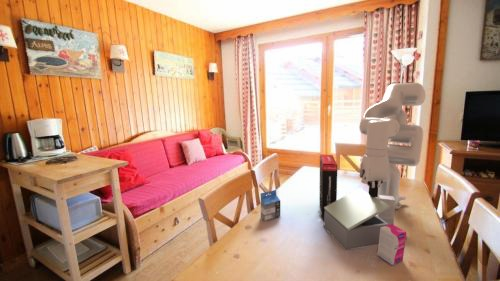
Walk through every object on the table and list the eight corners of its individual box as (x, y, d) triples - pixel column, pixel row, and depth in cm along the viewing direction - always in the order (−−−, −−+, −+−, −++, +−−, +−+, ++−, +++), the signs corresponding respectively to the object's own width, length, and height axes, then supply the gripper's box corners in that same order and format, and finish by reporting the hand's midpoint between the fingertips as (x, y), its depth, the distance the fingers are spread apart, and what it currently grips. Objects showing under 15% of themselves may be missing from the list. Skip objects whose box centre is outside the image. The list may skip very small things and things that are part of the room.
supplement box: (392, 266, 80) (395, 235, 77) (376, 256, 85) (379, 226, 83) (403, 261, 82) (407, 231, 80) (387, 251, 87) (390, 222, 85)
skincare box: (391, 221, 108) (393, 196, 105) (393, 225, 104) (396, 200, 102) (376, 219, 110) (378, 194, 107) (377, 223, 106) (380, 198, 103)
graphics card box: (336, 221, 108) (339, 163, 103) (320, 220, 110) (322, 163, 105) (331, 204, 125) (333, 154, 120) (317, 204, 126) (319, 153, 121)
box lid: (360, 190, 105) (359, 188, 105) (390, 207, 89) (389, 205, 89) (324, 209, 103) (324, 207, 103) (348, 230, 87) (347, 228, 87)
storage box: (360, 221, 108) (361, 205, 106) (387, 242, 92) (389, 224, 91) (323, 227, 104) (324, 210, 103) (345, 249, 89) (346, 230, 87)
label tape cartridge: (264, 221, 110) (264, 196, 108) (260, 217, 113) (260, 193, 111) (280, 216, 114) (280, 192, 112) (276, 213, 117) (276, 189, 115)
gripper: (385, 148, 98) (382, 190, 102) (353, 151, 95) (350, 194, 99) (400, 152, 91) (396, 197, 95) (365, 155, 88) (362, 202, 92)
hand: (373, 195), depth 97 cm, fingers closed
